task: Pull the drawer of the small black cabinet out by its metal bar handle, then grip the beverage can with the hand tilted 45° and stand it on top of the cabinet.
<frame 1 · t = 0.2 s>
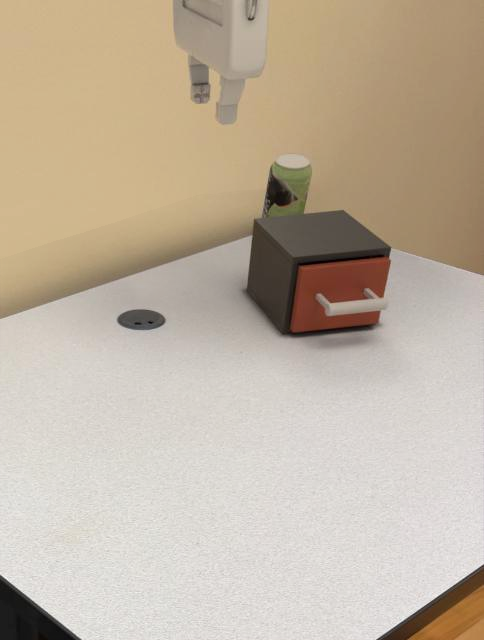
hand: (212, 112, 93), 26 cm above the table, tool pointing down, fingers open, 8 cm apart
drawer: (327, 284, 111), point 5 cm above the table, slide at 0.5 cm
cabinet: (308, 306, 118), on the table
beverage can: (280, 241, 137), on the table
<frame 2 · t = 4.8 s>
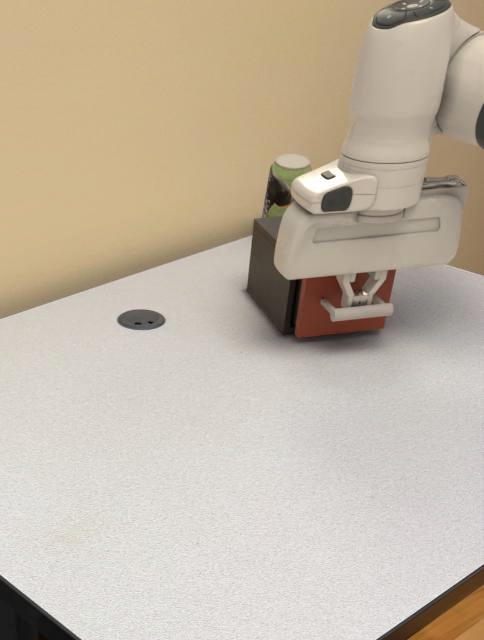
hand: (355, 307, 104), 5 cm above the table, tool pointing down, fingers closed, pressing on drawer
drawer: (332, 288, 110), point 5 cm above the table, slide at 2.1 cm, touching gripper
everything else where it was.
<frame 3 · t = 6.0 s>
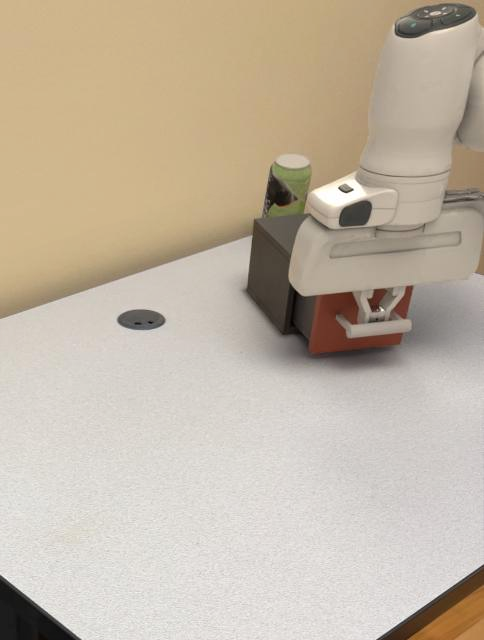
hand: (371, 324, 101), 5 cm above the table, tool pointing down, fingers closed, pressing on drawer
drawer: (347, 303, 106), point 5 cm above the table, slide at 6.7 cm, touching gripper
everything else where it was.
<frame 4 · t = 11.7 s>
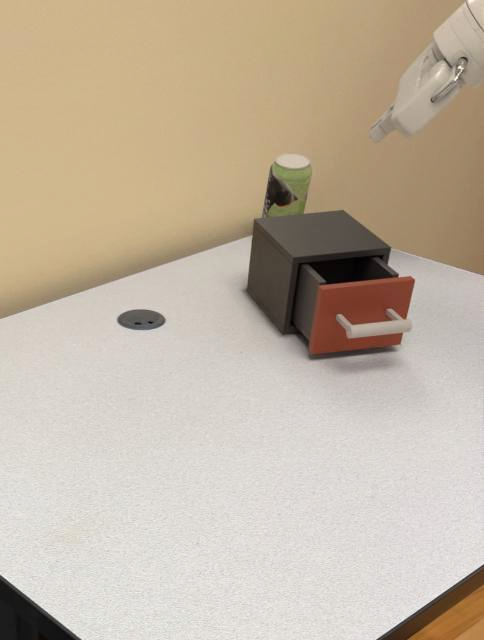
hand: (373, 136, 121), 16 cm above the table, tool tilted 40°, fingers closed
drawer: (347, 303, 106), point 5 cm above the table, slide at 6.8 cm
everything else where it was.
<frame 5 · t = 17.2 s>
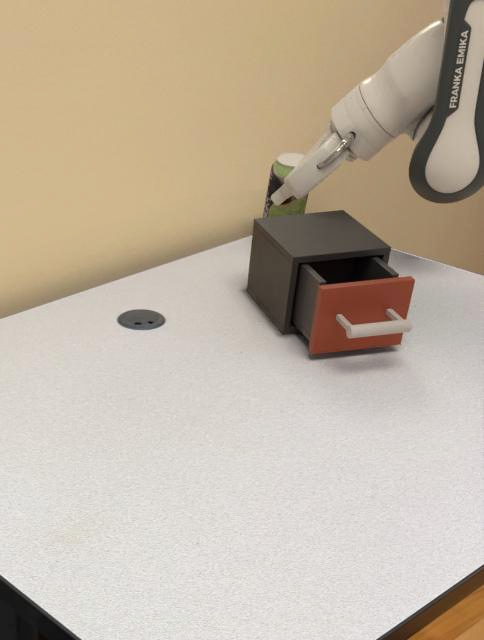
hand: (280, 194, 132), 7 cm above the table, tool tilted 45°, fingers closed on beverage can, 5 cm apart
beverage can: (280, 240, 137), on the table, touching gripper
everything else where it was.
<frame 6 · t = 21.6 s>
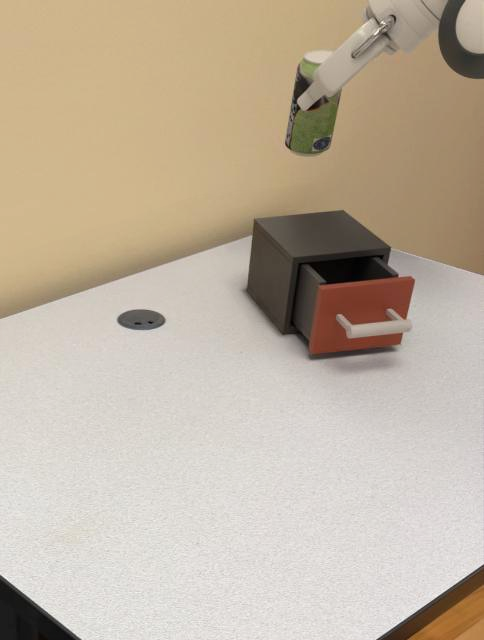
hand: (307, 99, 116), 21 cm above the table, tool tilted 45°, fingers closed on beverage can, 5 cm apart
beverage can: (308, 155, 121), point 14 cm above the table, touching gripper
everything else where it was.
when the fingers open (16 cm above the table, at t = 25.9 s): beverage can stays where it is, resting on cabinet.
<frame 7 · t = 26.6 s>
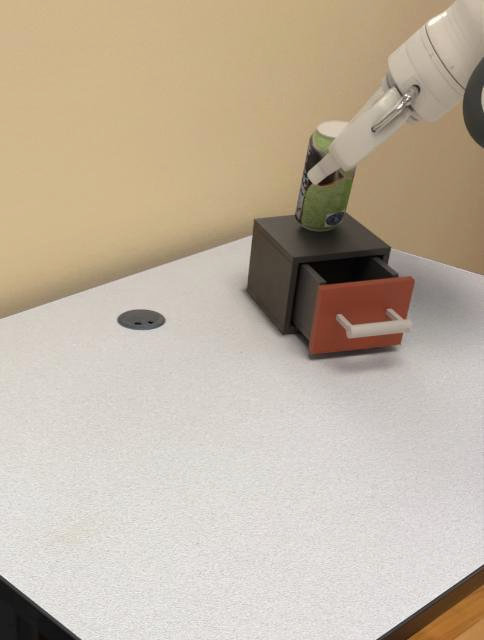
hand: (320, 167, 108), 17 cm above the table, tool tilted 45°, fingers open, 8 cm apart
beverage can: (319, 229, 113), point 9 cm above the table, touching cabinet
everything else where it was.
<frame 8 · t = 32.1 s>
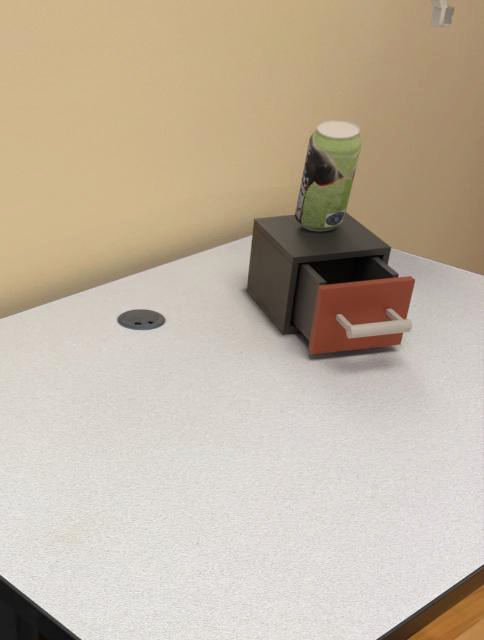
hand: (481, 22, 97), 31 cm above the table, tool pointing down, fingers open, 8 cm apart
nothing on the table moved.
at the end: drawer slide at 6.8 cm; beverage can inside the target area on the cabinet (1.2 cm from its centre), point 9.4 cm above the cabinet's base; beverage can tilted 0° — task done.
